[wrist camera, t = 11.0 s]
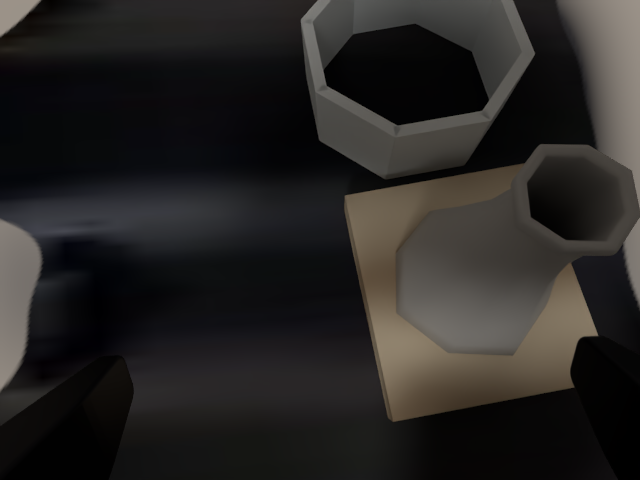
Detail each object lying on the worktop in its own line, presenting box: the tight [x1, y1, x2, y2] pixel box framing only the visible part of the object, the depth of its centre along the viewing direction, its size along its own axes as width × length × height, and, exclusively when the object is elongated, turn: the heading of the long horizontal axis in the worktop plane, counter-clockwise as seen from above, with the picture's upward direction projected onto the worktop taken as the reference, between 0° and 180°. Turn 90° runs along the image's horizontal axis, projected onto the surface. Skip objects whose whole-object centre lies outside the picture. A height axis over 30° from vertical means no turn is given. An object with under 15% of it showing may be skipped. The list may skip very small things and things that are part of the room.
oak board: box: [344, 163, 598, 422], centre depth 22 cm, size 11×10×2 cm
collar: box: [301, 0, 535, 179], centre depth 24 cm, size 11×11×4 cm
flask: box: [396, 144, 640, 356], centre depth 16 cm, size 7×7×10 cm
